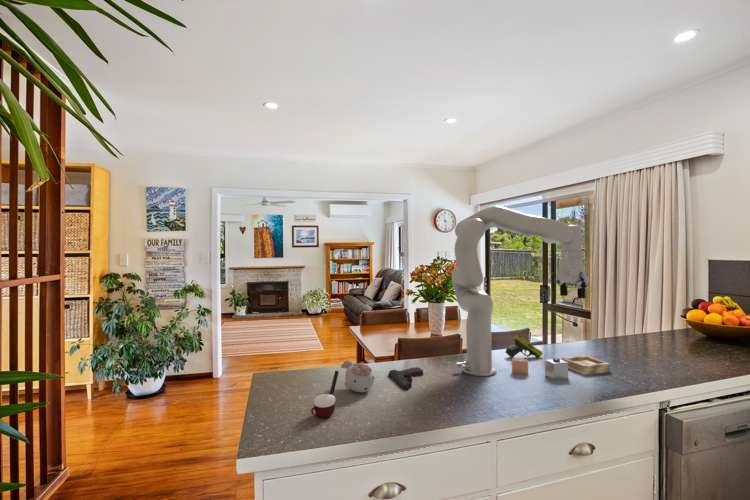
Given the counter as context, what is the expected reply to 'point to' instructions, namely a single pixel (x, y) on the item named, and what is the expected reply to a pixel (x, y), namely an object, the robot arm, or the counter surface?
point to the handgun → (405, 376)
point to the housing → (556, 368)
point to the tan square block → (520, 366)
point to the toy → (358, 376)
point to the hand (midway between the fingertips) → (572, 296)
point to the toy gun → (522, 348)
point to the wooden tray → (587, 365)
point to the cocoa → (325, 402)
